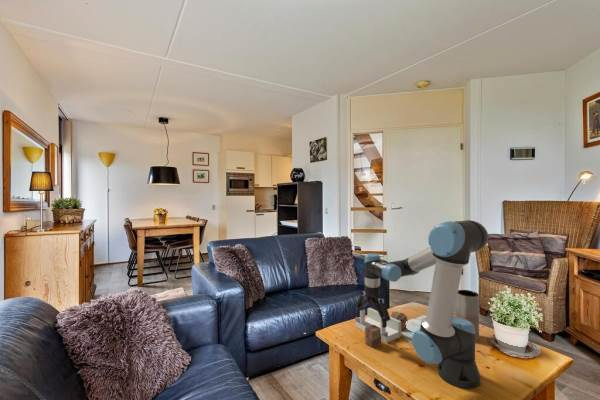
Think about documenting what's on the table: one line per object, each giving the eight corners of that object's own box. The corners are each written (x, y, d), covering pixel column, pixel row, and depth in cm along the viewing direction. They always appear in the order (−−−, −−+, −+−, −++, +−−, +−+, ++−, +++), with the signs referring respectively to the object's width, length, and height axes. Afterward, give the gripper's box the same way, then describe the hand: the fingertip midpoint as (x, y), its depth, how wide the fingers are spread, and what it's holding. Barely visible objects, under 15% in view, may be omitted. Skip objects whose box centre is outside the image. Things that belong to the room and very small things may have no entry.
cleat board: (401, 336, 148) (401, 321, 148) (386, 342, 142) (386, 327, 142) (370, 321, 167) (369, 307, 167) (355, 326, 161) (355, 312, 161)
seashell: (383, 322, 164) (390, 306, 165) (394, 328, 166) (402, 312, 168) (394, 330, 154) (402, 313, 155) (406, 336, 156) (414, 319, 158)
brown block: (381, 344, 141) (381, 328, 141) (371, 348, 137) (371, 332, 137) (373, 340, 145) (373, 324, 145) (363, 344, 142) (363, 328, 142)
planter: (482, 342, 142) (482, 296, 141) (461, 340, 143) (460, 295, 143) (473, 332, 151) (473, 290, 151) (453, 331, 153) (453, 289, 153)
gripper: (398, 291, 133) (398, 336, 133) (360, 277, 154) (360, 316, 154) (387, 294, 129) (387, 340, 129) (349, 280, 150) (349, 320, 150)
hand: (372, 327), depth 142 cm, fingers open, 13 cm apart
